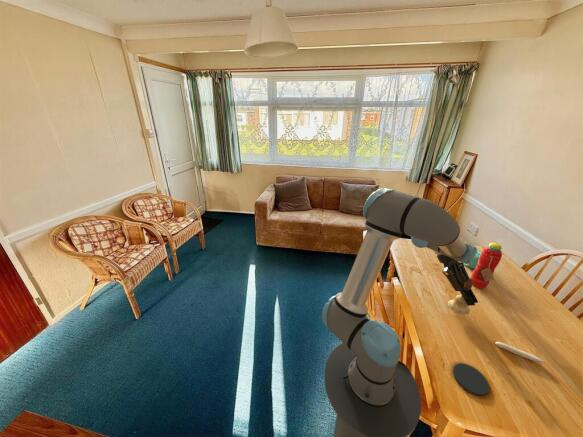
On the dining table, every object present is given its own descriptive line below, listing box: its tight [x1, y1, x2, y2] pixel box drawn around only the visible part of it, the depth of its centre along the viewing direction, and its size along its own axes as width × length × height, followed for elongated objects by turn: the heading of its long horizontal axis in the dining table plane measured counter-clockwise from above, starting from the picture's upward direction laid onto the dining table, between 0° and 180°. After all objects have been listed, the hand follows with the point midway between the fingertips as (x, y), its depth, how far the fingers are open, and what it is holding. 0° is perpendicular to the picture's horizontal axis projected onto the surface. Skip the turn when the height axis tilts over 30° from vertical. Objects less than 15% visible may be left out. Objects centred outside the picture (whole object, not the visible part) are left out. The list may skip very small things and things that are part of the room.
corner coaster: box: [452, 363, 490, 397], centre depth 78 cm, size 10×10×1 cm
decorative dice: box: [464, 250, 482, 270], centre depth 133 cm, size 8×8×8 cm
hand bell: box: [447, 277, 473, 315], centre depth 99 cm, size 8×8×16 cm
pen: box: [494, 341, 546, 363], centre depth 86 cm, size 2×14×2 cm, turn 55°
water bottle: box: [469, 242, 503, 289], centre depth 113 cm, size 12×8×25 cm, turn 142°
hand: (473, 303), depth 97 cm, fingers closed on hand bell, 2 cm apart
